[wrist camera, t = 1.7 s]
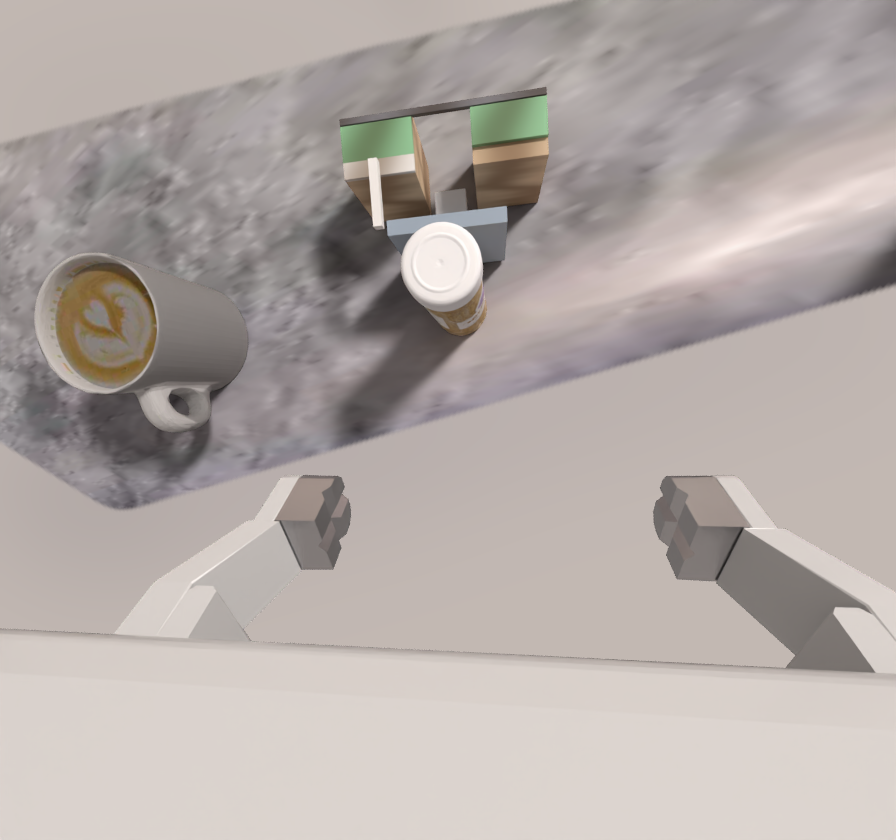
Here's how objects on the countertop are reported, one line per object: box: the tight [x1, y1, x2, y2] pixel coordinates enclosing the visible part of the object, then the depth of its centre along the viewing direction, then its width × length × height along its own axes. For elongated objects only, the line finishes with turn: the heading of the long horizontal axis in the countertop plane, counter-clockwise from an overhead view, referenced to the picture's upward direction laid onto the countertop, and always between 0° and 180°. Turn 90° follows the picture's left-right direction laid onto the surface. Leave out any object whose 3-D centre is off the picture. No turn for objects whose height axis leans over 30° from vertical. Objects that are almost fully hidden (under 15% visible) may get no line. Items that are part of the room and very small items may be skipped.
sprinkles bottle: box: [401, 222, 487, 336], centre depth 28 cm, size 5×5×14 cm
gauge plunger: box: [368, 157, 508, 263], centre depth 30 cm, size 9×5×8 cm, turn 94°
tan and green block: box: [340, 87, 549, 221], centre depth 30 cm, size 14×4×7 cm, turn 94°
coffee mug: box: [35, 252, 248, 433], centre depth 33 cm, size 13×10×10 cm
